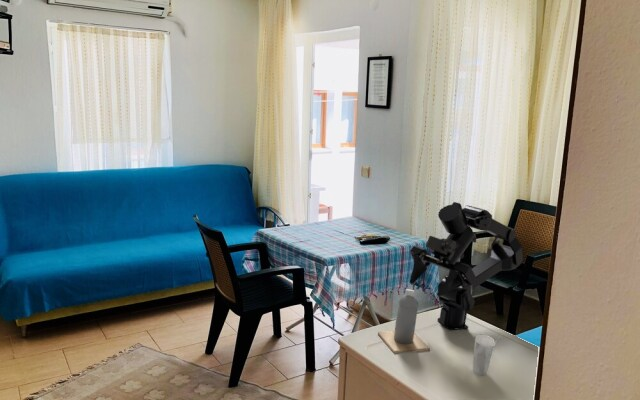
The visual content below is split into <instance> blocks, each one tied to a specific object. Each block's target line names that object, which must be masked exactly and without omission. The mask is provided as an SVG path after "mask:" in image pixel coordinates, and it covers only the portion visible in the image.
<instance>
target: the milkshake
mask: <svg viewBox="0 0 640 400" xmlns="http://www.w3.org/2000/svg"><path fill="white" fill-rule="evenodd" d="M500 337H501V335H498V337H497V338H496V340H495V339H494V338H493V337H491V336H489V335H488V334H478V335H476V337H475V338H474V350H473V362H472V363H473V364H472V371H473V373H474V374H476V375H478V376H487V374H488V372H489V367H490V364H491V359H492V356H493V353H494V350H495V347H496V346H495V345H496V343H497V341H498V340H499V338H500Z"/></svg>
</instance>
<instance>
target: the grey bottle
mask: <svg viewBox="0 0 640 400" xmlns="http://www.w3.org/2000/svg"><path fill="white" fill-rule="evenodd" d="M414 294H415V290H414V289H408V288H405V294H403V295H401V296H400V298H399V299H398V303H397V310H396V317H395V326H394V331H395V333H394V340H395V341H396V342H398V343H400V344H405V345H408V344H412V343H413V339H414V333H415V330H416V323H417V316H418V310H419V309H418V308H419V301H418V299H417V297H415V295H414Z"/></svg>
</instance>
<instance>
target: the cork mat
mask: <svg viewBox="0 0 640 400" xmlns="http://www.w3.org/2000/svg"><path fill="white" fill-rule="evenodd" d="M394 333H395V330H389V331H388V330H387V331H377V335H378V336H379V337H380V338H381V340H382V341H383V342H384V343H385V345H387V347H388V348H389V349H390V350H391V351H392V353H393V354H397V353H398V354H400V353H402V354H403V353H411V352H412V353H413V352H423V351H426V352H427V351H430V350H431V348H430V347H429V345H428V344H426V342H424V341H423V339H421V337H419V335H418V334H416V332H414V339H413V343H412V344H408V345H405V344H400V343H398V342H396V341H395V340H394Z"/></svg>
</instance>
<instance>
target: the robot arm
mask: <svg viewBox="0 0 640 400" xmlns="http://www.w3.org/2000/svg"><path fill="white" fill-rule="evenodd" d="M437 215H438V216H437V217H438V218H439V220H440V223H441V224H442V226H443V227H444V229H445V231H446V233H448V236H447V237H446V238H444V237H443V238H439V237H435V236H433V235H429V236H428V239H427V241H426V244H425V246H424V247H426V248H424V247H421V246H419V245H413V246H412V247H411V248H410V250H409V254H410V256H411V258H412V259H413V265H412V266H413V267H412V270H411V275H410V278H409V283H410V285H413V284H415V282H416V281H417V280H418V279H419V278H420V277H421V276H422V275H424V274H425V272H426V271H427V270H428V268H427V267H429V266H430V265H434V266H436V267H439V268H442V269H444V270H447V271H448V275H444V277H443V279H442V280H441V281H439V283H438V284H437V293H436V296H437V297H438V301H440V302H442V307H441V309H440V313H439V317H438V318H437V321H438V322H439V323H440V324H441V325H442V326H443V327H445V328H446V329H447V330H448V331H451V330H466V329H469V325H468V324H466V322H467V316H468V315H467V314H468V312H471V310H472V309H473V308H474V306H475V303H476V300H475V299H474V297H473V295H472V294H473V290H474V289H476V288H478V287H479V286H480V285H481V284H483V283H485V282H486V281H488V280H489V279H491V278H492V277H493V276H495V275H496V274H498V273H499V272H501V271H511V270H514V269H516V268H518V267H519V266H521V264H522V262H523V258H524V256H523V255H524V254H523V246H522V245H521V243H520V241H519V240H518V238H517V233H516V230H515V229H514V228H512V227H509V226H507V225H505V224H504V223H501V222H500V221H497V220H496V219H494V218H493V215H492V214H491V212H489V211H488V210H487V209H483V208H481V207H476V206H473V205H465V206H464V207H462V204H461V203H460V202H456V201H453V203H452V204H448V205H445V206H443V207H441V209H439V212H438V214H437ZM473 229H474V230H475V229H476V230H479V231H483V232H484V231H485V232H487V233H489V234H491V235H493V236H494V240H493V242H492V243H491V245H490V247H491V249H490V250H491V251H490V256H489V257H488V258H486V259H485V260H483V261H482V262H480V263H478V264H477V265H475V266H474V267H471V265H470V264H468V263H465V262H461V261H459V259H464V257H465V254H464V252H465V251H466V249H467V248H468V247H469V245H470V244H471V243H476V242H477V237H476V236H477V235H476V234H477V233H476V232H475V231H473ZM500 240H503V241H506V242H507V244H508V245H509V246H508V245H504V244H501V243H500ZM427 248H429V249H430V250H431V251H430V253H431V254H432V255H433V256H432V255H431V254H430V253H429V252H428V250H427Z"/></svg>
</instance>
